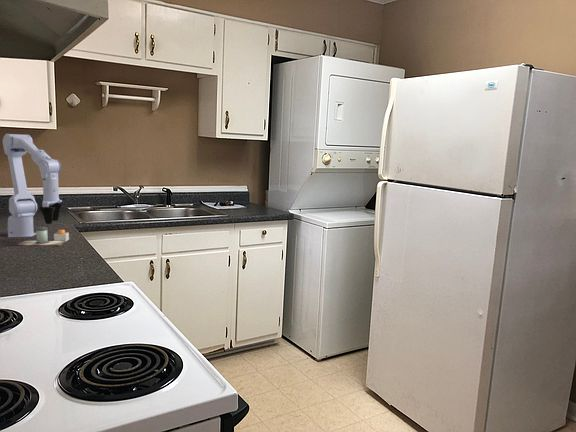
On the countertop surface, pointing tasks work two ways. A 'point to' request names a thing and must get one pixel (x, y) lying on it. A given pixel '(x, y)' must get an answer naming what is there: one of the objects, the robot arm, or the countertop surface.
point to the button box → (61, 237)
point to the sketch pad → (34, 243)
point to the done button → (61, 231)
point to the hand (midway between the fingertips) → (51, 222)
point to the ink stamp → (42, 235)
